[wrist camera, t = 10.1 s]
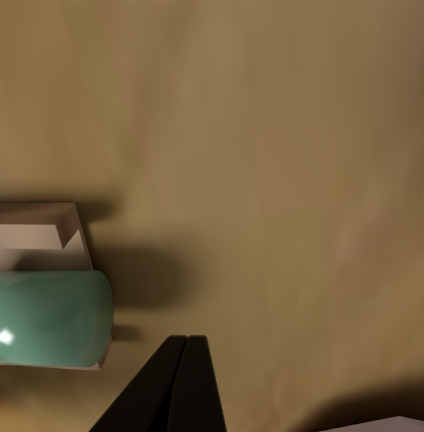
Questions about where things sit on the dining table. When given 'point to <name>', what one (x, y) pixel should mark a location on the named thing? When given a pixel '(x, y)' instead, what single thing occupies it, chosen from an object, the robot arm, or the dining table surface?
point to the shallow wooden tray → (44, 244)
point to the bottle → (54, 317)
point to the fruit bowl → (385, 426)
